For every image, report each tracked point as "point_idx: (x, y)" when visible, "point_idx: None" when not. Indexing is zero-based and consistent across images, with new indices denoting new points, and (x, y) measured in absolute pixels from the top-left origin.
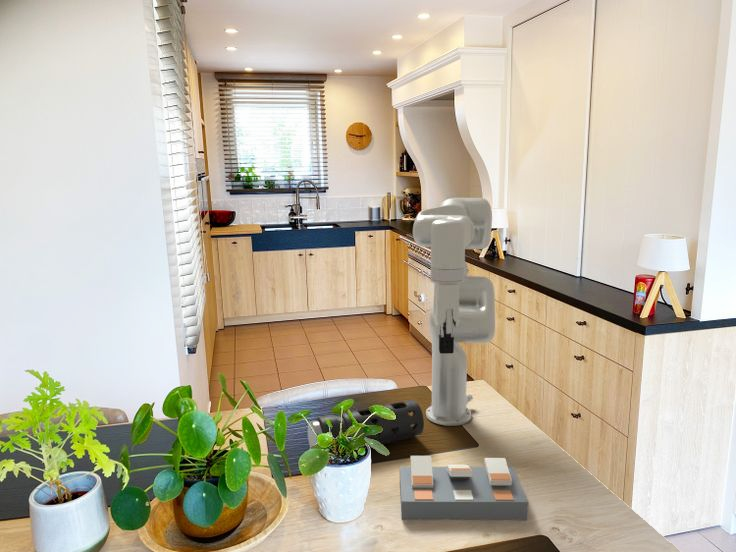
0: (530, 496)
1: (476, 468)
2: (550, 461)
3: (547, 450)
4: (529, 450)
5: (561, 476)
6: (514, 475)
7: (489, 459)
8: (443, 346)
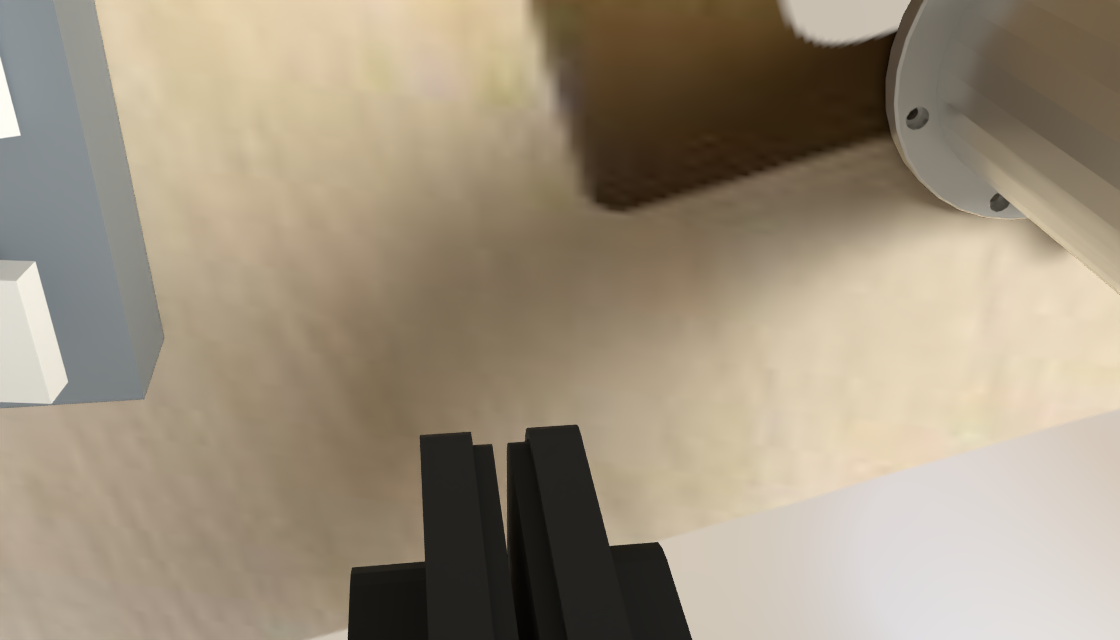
0: None
1: (71, 186)
2: None
3: None
4: None
5: (279, 554)
6: None
7: (8, 308)
8: (348, 631)
